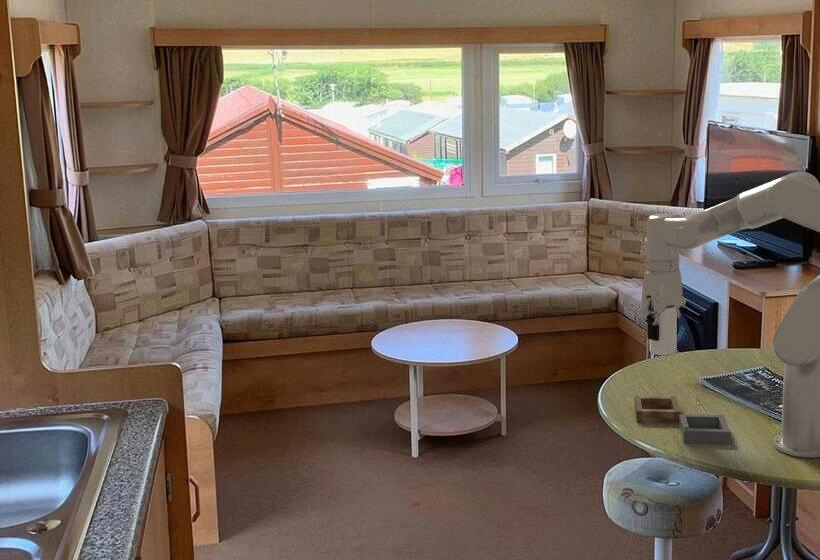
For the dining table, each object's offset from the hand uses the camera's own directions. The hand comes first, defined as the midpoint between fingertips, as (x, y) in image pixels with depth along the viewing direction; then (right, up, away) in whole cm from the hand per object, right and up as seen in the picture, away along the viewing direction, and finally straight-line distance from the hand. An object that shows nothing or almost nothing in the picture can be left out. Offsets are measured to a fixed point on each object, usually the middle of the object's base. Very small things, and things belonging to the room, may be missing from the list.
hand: (663, 335), depth 232 cm
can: (0, -4, +1) cm, 4 cm away
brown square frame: (0, -20, +6) cm, 21 cm away
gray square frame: (+8, -23, -7) cm, 25 cm away
